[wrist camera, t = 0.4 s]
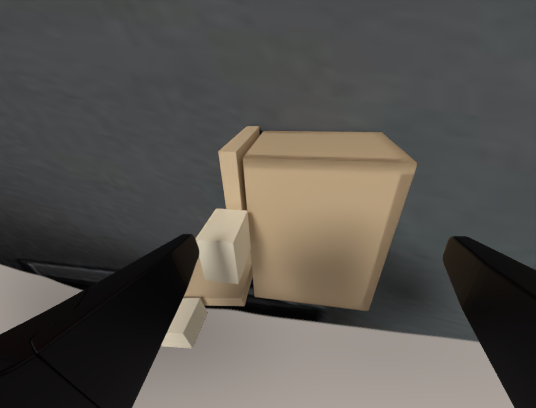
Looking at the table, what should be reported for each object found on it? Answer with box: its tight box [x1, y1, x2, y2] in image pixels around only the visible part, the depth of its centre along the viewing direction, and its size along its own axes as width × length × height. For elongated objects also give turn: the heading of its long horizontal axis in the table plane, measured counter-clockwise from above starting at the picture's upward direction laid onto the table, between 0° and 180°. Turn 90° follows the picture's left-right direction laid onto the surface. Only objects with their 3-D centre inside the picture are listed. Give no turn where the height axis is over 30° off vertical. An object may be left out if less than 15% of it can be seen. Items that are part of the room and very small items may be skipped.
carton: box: [243, 131, 417, 311], centre depth 18 cm, size 9×12×7 cm
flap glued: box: [196, 126, 260, 284], centre depth 15 cm, size 2×6×10 cm, turn 1°
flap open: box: [161, 249, 253, 348], centre depth 21 cm, size 2×6×10 cm, turn 101°
